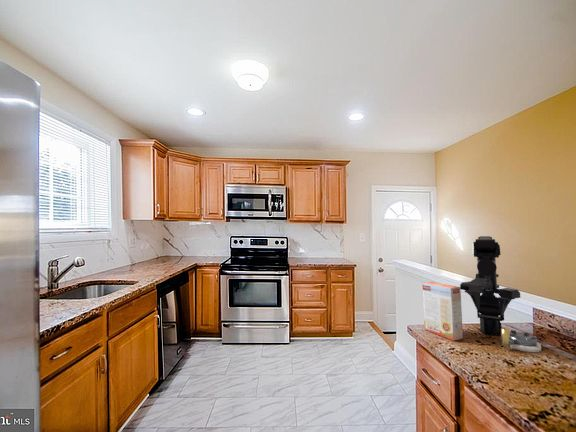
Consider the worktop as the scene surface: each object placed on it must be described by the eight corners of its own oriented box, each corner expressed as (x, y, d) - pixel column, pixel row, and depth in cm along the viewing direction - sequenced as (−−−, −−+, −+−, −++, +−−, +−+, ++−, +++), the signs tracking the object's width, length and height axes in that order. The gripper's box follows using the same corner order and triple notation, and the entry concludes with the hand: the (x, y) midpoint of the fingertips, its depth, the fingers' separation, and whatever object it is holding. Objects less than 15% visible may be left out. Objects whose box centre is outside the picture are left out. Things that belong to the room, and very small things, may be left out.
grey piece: (514, 335, 108) (513, 319, 108) (542, 343, 100) (541, 327, 100) (490, 341, 102) (489, 325, 103) (518, 351, 94) (517, 333, 94)
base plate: (515, 351, 97) (514, 346, 97) (496, 339, 108) (495, 335, 108) (549, 352, 96) (549, 348, 96) (526, 340, 107) (526, 335, 107)
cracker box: (464, 339, 109) (461, 286, 110) (453, 341, 107) (450, 288, 108) (433, 327, 122) (431, 280, 123) (423, 329, 120) (421, 282, 121)
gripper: (450, 269, 111) (452, 308, 110) (500, 276, 93) (503, 322, 93) (468, 267, 115) (470, 305, 114) (519, 274, 98) (522, 318, 97)
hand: (489, 312), depth 104 cm, fingers open, 8 cm apart
